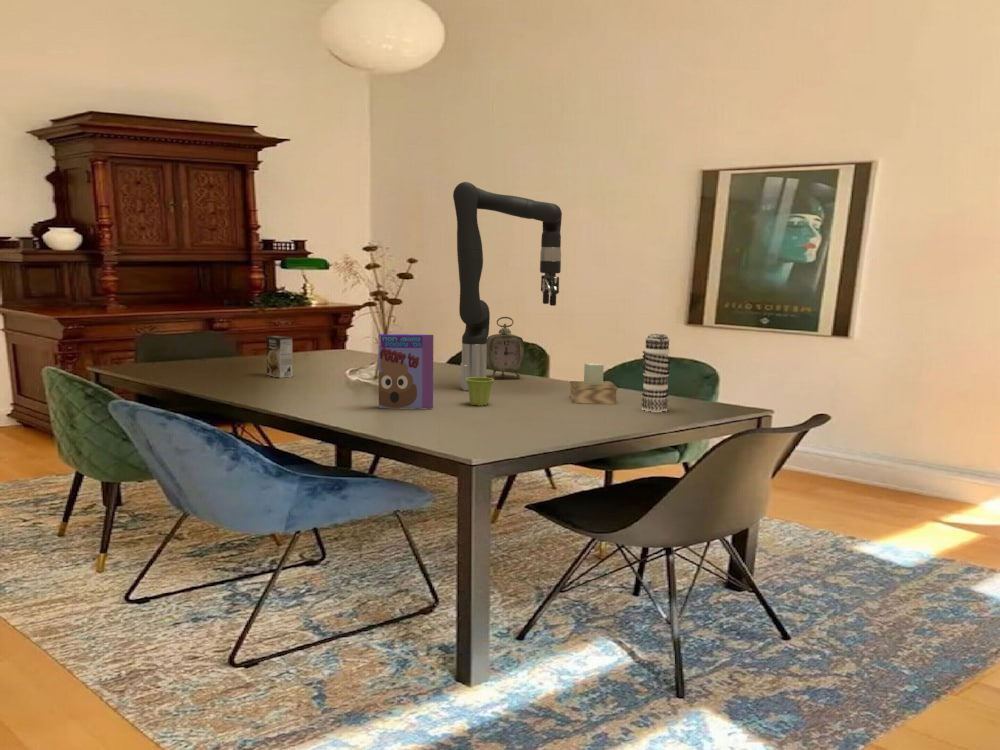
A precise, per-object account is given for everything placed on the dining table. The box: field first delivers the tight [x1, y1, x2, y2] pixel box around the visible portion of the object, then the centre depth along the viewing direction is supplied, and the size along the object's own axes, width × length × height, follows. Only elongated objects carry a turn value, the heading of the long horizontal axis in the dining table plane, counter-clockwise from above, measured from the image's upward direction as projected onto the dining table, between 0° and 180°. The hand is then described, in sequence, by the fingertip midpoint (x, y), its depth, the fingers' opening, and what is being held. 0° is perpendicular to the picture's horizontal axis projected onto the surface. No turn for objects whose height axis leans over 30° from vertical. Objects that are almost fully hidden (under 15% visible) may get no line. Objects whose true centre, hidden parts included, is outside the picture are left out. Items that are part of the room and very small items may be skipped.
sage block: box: [583, 362, 604, 385], centre depth 298 cm, size 5×5×7 cm
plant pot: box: [466, 376, 495, 407], centre depth 287 cm, size 9×9×9 cm
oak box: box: [569, 380, 618, 405], centre depth 299 cm, size 14×14×6 cm
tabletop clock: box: [487, 316, 526, 380], centre depth 345 cm, size 14×9×25 cm, turn 103°
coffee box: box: [265, 335, 294, 378], centre depth 340 cm, size 9×6×16 cm
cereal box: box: [378, 333, 434, 410], centre depth 277 cm, size 17×5×24 cm, turn 94°
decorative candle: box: [641, 333, 672, 413], centre depth 281 cm, size 9×9×25 cm
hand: (549, 304), depth 312 cm, fingers open, 8 cm apart
